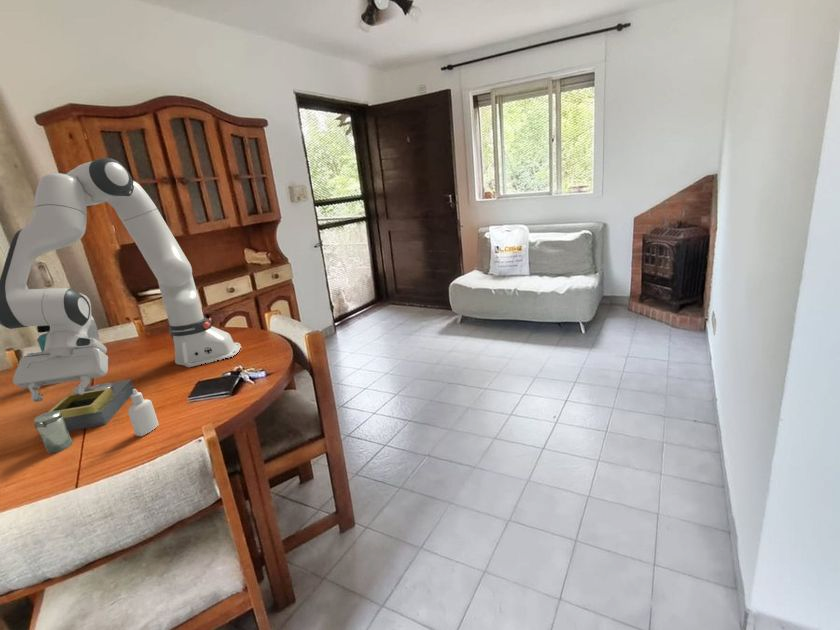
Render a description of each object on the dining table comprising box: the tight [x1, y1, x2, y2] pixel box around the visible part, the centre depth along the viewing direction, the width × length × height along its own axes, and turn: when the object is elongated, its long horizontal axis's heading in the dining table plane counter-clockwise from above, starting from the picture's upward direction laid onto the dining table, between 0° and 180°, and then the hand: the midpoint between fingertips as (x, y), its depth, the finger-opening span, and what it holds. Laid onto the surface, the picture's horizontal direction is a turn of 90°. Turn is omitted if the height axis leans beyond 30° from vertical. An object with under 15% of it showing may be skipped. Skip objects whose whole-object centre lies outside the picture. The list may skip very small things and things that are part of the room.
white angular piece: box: [87, 315, 109, 359], centre depth 162 cm, size 16×5×18 cm, turn 49°
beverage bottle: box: [36, 325, 50, 352], centre depth 144 cm, size 6×7×20 cm
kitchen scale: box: [47, 379, 135, 432], centre depth 121 cm, size 20×14×6 cm
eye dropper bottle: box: [128, 388, 159, 437], centre depth 108 cm, size 4×6×12 cm
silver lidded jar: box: [33, 410, 73, 454], centre depth 103 cm, size 5×7×9 cm
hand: (57, 397), depth 108 cm, fingers open, 8 cm apart
